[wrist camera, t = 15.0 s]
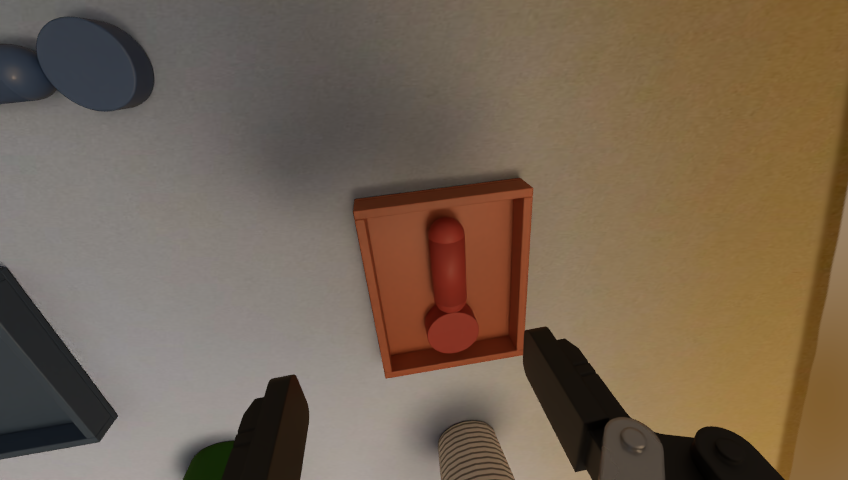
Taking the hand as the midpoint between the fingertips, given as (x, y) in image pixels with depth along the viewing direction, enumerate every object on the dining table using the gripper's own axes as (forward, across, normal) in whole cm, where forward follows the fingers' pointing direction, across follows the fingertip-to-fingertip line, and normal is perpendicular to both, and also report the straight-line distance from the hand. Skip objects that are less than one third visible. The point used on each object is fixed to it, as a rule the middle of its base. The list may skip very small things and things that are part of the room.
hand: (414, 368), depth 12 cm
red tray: (+13, -3, +5) cm, 14 cm away
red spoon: (+13, -3, +6) cm, 14 cm away
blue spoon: (+13, +16, -11) cm, 24 cm away
